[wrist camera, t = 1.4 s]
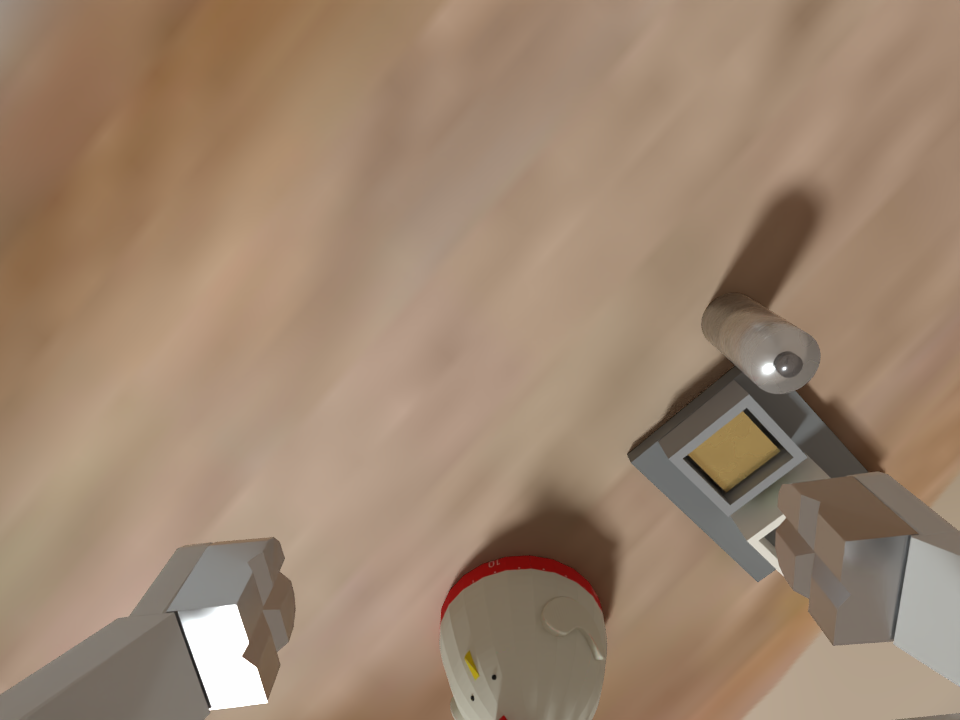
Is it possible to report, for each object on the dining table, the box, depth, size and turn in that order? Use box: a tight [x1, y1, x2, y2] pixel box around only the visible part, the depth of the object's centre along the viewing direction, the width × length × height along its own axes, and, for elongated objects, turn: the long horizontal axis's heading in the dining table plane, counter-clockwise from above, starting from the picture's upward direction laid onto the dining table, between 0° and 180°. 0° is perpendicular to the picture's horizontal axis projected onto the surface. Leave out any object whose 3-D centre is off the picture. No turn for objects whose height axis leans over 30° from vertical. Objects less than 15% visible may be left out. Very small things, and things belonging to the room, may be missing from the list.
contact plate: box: [688, 411, 780, 492], centre depth 43 cm, size 5×5×1 cm
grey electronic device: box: [627, 366, 869, 582], centre depth 45 cm, size 12×16×5 cm
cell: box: [701, 293, 820, 394], centre depth 38 cm, size 4×4×9 cm
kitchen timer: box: [439, 555, 607, 720], centre depth 45 cm, size 14×14×15 cm
